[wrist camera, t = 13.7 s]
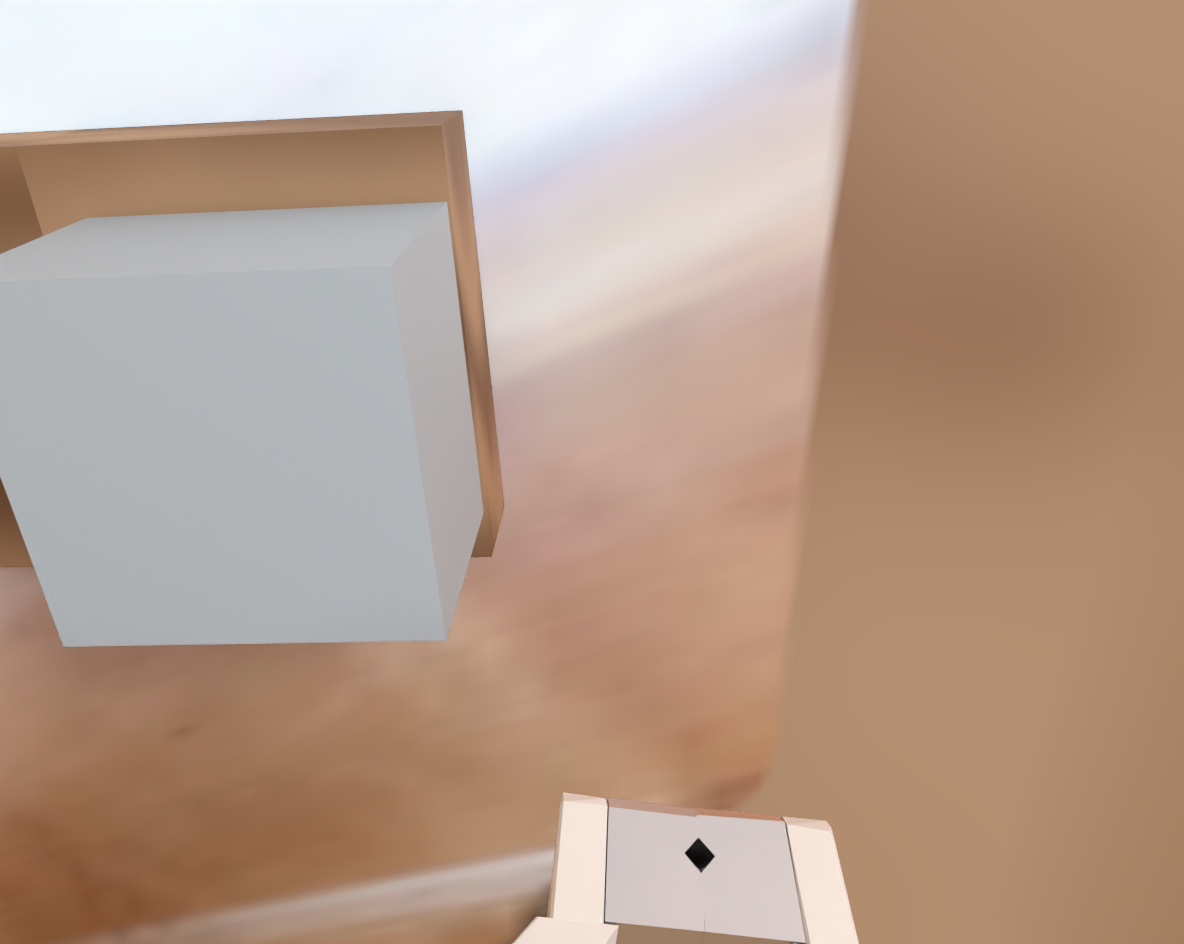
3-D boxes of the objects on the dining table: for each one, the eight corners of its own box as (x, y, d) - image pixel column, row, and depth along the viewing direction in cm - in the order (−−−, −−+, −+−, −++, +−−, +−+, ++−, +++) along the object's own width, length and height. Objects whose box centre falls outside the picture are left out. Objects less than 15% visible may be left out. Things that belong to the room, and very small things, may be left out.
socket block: (504, 507, 31) (491, 556, 28) (-33, 520, 32) (-94, 569, 29) (462, 110, 25) (441, 125, 23) (-183, 142, 26) (-275, 160, 24)
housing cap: (483, 512, 27) (446, 640, 22) (173, 520, 27) (63, 646, 22) (447, 201, 23) (390, 265, 18) (86, 217, 24) (-72, 284, 18)
